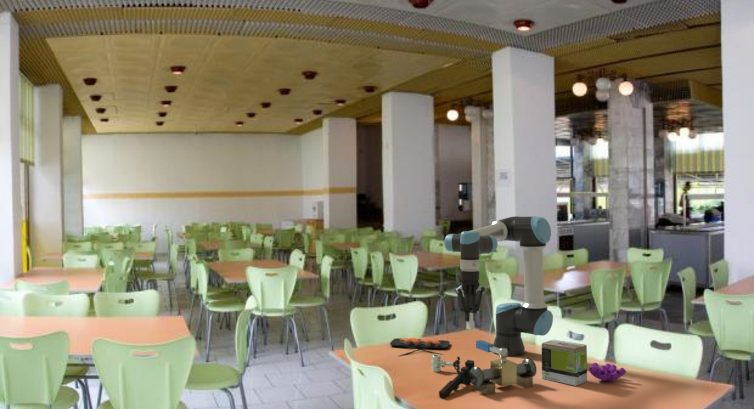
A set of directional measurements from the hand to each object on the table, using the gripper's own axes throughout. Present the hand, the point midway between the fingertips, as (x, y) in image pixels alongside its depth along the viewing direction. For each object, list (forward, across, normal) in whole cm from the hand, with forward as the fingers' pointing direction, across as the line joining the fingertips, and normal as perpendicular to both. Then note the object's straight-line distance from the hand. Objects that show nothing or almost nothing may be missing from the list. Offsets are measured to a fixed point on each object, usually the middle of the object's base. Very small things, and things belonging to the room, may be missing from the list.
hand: (469, 329), depth 237 cm
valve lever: (+9, +7, -5) cm, 13 cm away
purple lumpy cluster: (+21, +50, -23) cm, 59 cm away
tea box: (+21, +36, -15) cm, 44 cm away
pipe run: (+21, +8, -12) cm, 25 cm away
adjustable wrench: (+22, -9, -5) cm, 24 cm away
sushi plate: (+22, +8, +55) cm, 59 cm away
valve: (+21, 0, +17) cm, 27 cm away
